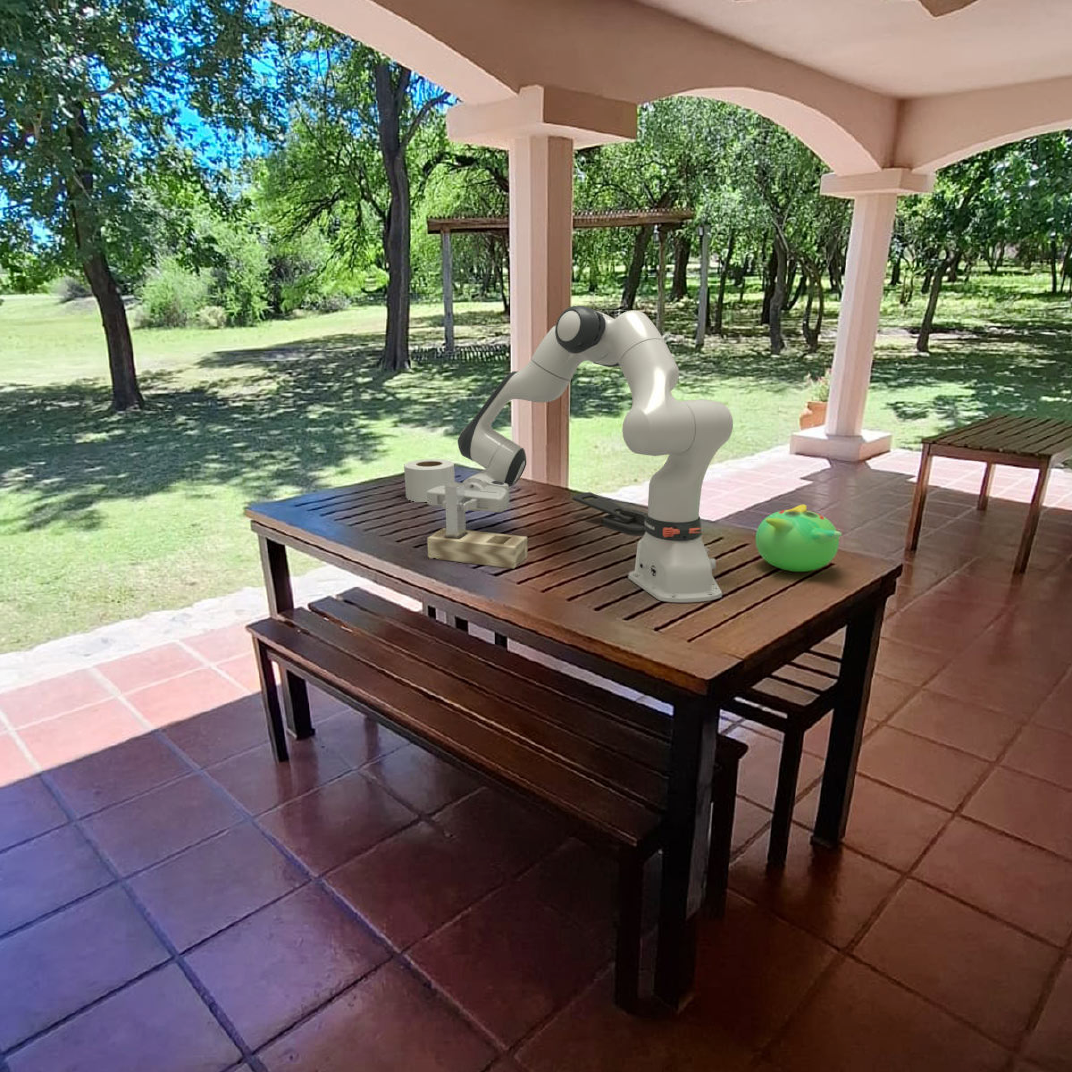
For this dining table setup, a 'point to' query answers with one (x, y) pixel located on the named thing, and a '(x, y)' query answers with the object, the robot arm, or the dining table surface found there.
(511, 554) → the hollow cinder block
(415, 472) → the toilet paper roll
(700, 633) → the dining table surface
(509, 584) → the dining table surface
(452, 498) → the grey square pillar
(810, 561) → the toy bird
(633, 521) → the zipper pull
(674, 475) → the robot arm
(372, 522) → the dining table surface
